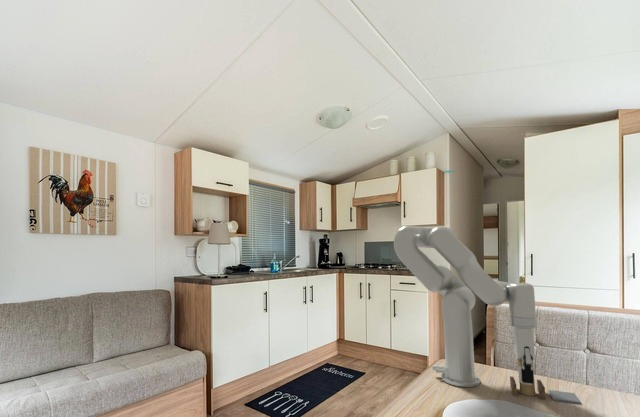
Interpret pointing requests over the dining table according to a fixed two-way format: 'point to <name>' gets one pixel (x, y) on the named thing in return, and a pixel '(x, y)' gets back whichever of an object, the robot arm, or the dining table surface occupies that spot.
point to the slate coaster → (564, 397)
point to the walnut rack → (539, 388)
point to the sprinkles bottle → (525, 387)
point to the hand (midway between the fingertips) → (526, 379)
